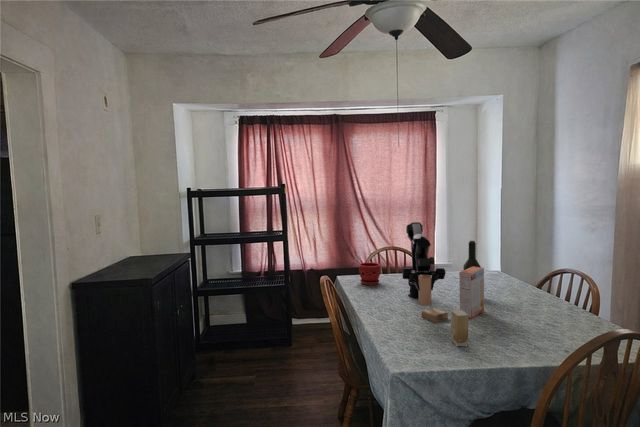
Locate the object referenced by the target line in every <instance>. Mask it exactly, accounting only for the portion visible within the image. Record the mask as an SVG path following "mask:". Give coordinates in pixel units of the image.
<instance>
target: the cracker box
mask: <svg viewBox="0 0 640 427" xmlns="http://www.w3.org/2000/svg"><path fill="white" fill-rule="evenodd" d="M459 310H462V311H464V312H465V313H466V314H468V315H469V319H471V320H473V319H475V317H477V316H479V315H480V314H482V313H483V312H484V311H485V268H484V267H481V268H480V267H470V268H468V269H466V270H464V269H463V270H461V271H459Z"/></svg>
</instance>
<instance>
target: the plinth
mask: <svg viewBox="0 0 640 427" xmlns="http://www.w3.org/2000/svg"><path fill="white" fill-rule="evenodd" d="M448 314H449V312H446V311H444V310H441V309H438V308H435V307H433V308H429V309H426V310H422V311H421V318H422V319H424V320H427V321H430V322H432V323H439V322H442V321H446V320H449V318H448V317H449V316H448Z"/></svg>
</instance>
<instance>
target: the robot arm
mask: <svg viewBox="0 0 640 427" xmlns="http://www.w3.org/2000/svg"><path fill="white" fill-rule="evenodd" d="M405 228H406V230H405V231H406V232H405V233H406V234H407V238H408V240H409V241H410V249H411V250H410V251H411V253H410V254H411V267H403V268H402V272H401V273H402V279H403V280H407V285H408V287H409V294H408V295H407V297H410V298H413V299H419V281H418V276H419V275H420V274H428V275H430V276H431V292H432V291H434V290H433V289H434V284H435V283H436V281H438V280H444V279H445V277H446V273H447V272H446V269H445V268H444V267H443V268H442V267H435V270H434V271H433V270H431V266H434V264H435V258H434V256H433V257H432V256H429V255H428V253H429V250H430V247H431V246H432V244H431V242H430V240H428V238H427V237H426V236H425V235H423V231H424V229H423V228H424V226H423V224H422V223H421V222H419V221H412V222H410V223H409V224H407V225H406V227H405ZM428 256H429V257H428Z"/></svg>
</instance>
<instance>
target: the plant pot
mask: <svg viewBox="0 0 640 427" xmlns="http://www.w3.org/2000/svg"><path fill="white" fill-rule="evenodd" d="M381 267H382V266H381V264H380V263H377V262H361V263H359V265H358V272H359V277H360V280H359V281H360V283H361V284H363V285H365V286H375V285H377V284H379V283H380V280H379V278H380V275H381Z"/></svg>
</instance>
